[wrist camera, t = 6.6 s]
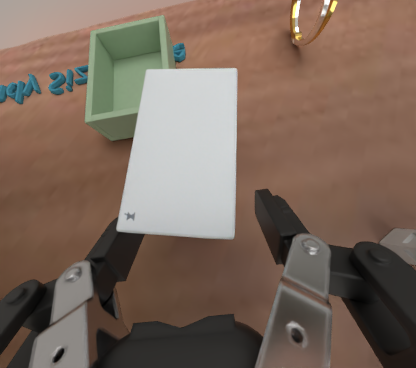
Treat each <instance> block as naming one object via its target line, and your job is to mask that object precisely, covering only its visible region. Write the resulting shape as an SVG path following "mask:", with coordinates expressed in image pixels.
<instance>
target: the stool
mask: <svg viewBox="0 0 416 368" xmlns="http://www.w3.org/2000/svg"><path fill="white" fill-rule="evenodd" d="M379 243H380V244H381V245H382V246H385V247H387V248H389V249H390V250H392V251H393V252H395V253H396V254H397V255H399V256H400V257H401V258H402V259H403V260H404V261H405V262H407V263H409V264H413V265H416V229H399V228H394V229H393V230H392V231H391V232H390V233H389V234H388V235H386V236H385V237H384V238H383V239H382V240H381V241H380V242H379Z"/></svg>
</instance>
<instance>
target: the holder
mask: <svg viewBox="0 0 416 368" xmlns="http://www.w3.org/2000/svg"><path fill="white" fill-rule="evenodd" d="M147 69H176V65H175V59H174V52H173V45H172V41H171V38H170V34H169V31H168V27H167V24H166V20H165V17H164V15H161V16H156V17H152V18H147V19H143V20H138V21H134V22H129V23H125V24H120V25H115V26H111V27H106V28H102V29H97V30H93V31H91V35H90V50H89V64H88V79H87V94H86V109H85V123H86V124H88V125H89V126H91V127H92V128H93V129H95V130H96V131H98V132H99V133H101V134H102V135H103V136H105V137H106V138H108V139H109V140H111V141H115V140H121V139H127V138H132V137H134V133H135V127H136V122H137V116H138V111H139V106H140V100H141V95H142V89H143V84H144V78H145V72H146V70H147Z"/></svg>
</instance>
